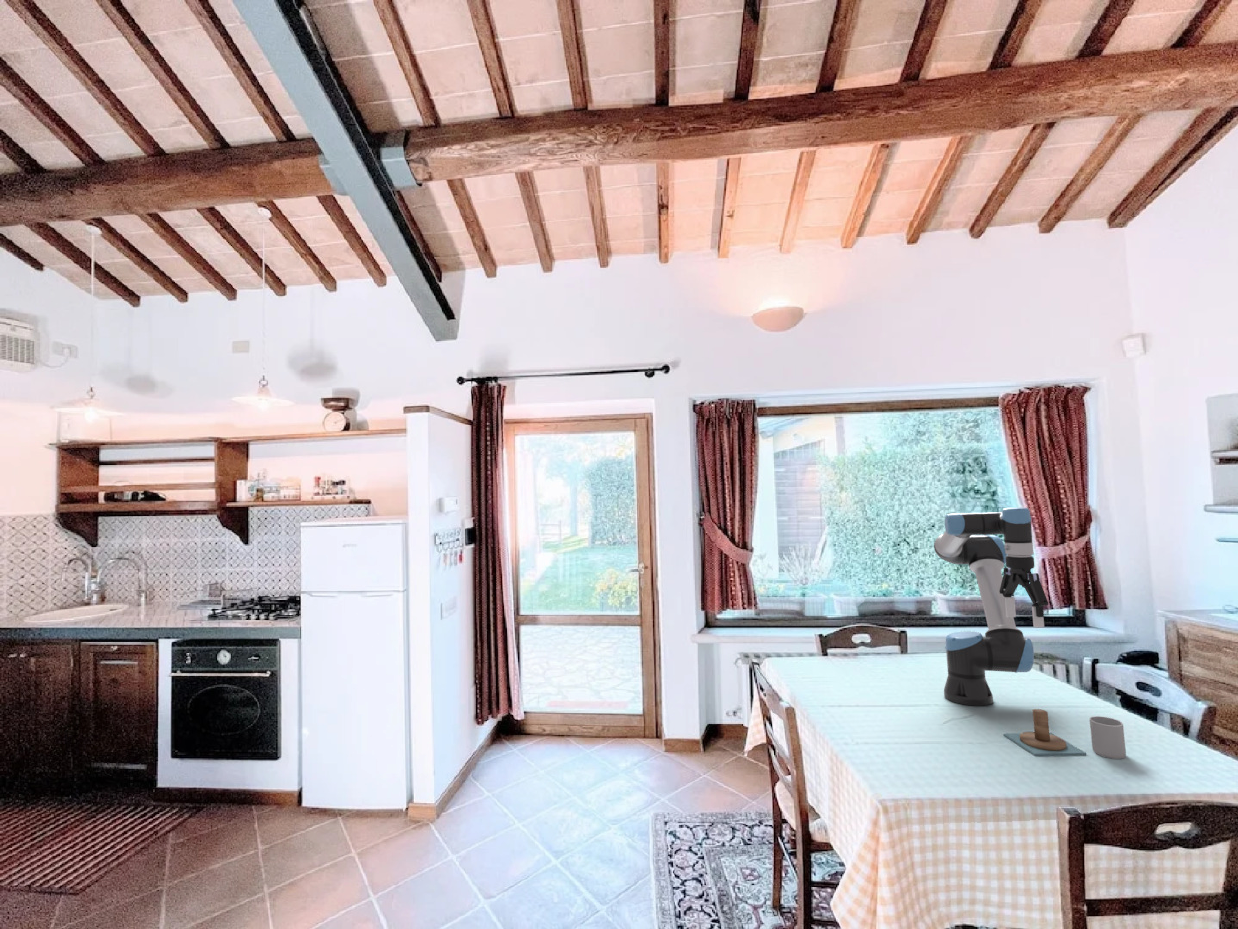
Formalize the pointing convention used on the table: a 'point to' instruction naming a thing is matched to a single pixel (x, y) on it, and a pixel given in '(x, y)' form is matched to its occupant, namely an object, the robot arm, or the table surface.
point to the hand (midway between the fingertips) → (1024, 622)
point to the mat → (1038, 752)
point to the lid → (1042, 734)
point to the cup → (1107, 737)
